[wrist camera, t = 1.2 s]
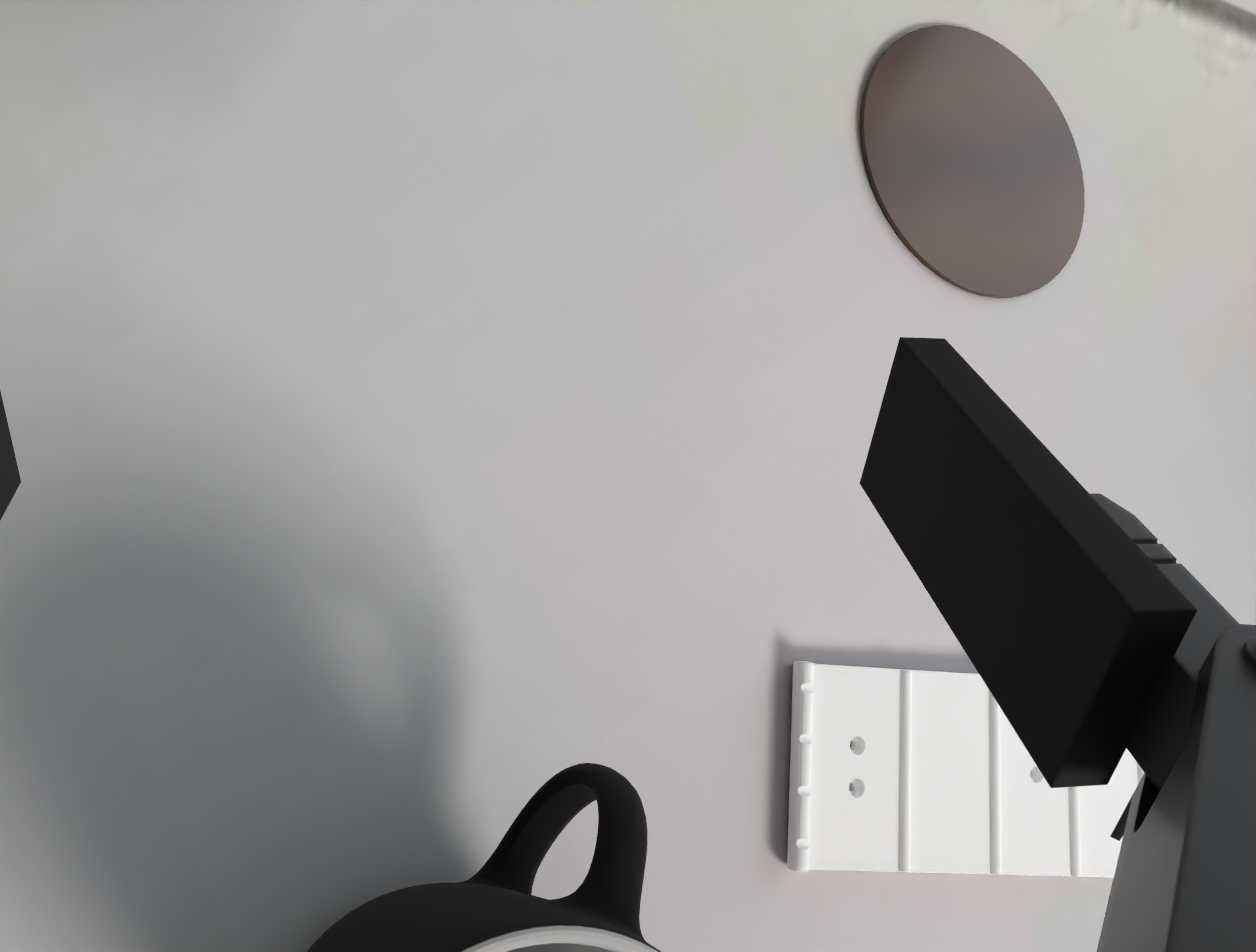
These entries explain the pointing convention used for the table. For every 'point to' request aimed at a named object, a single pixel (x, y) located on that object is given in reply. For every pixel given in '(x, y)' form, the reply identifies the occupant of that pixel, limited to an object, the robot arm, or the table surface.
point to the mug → (523, 886)
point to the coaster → (972, 161)
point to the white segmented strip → (933, 782)
